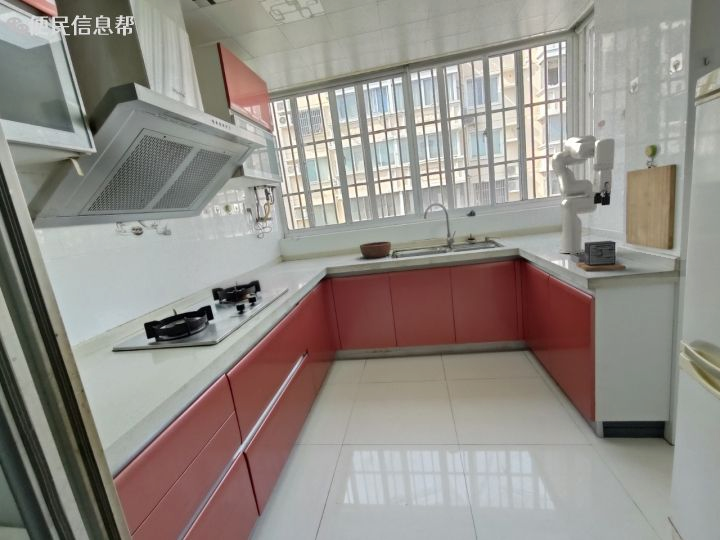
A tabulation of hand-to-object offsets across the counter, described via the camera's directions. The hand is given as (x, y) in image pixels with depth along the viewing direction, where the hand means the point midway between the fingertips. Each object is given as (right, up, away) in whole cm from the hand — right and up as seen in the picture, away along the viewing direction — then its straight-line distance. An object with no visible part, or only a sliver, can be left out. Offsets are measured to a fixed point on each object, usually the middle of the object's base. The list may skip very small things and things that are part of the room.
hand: (601, 204), depth 157 cm
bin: (+2, -27, +10) cm, 29 cm away
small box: (-4, -29, -4) cm, 29 cm away
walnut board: (-4, -30, -4) cm, 31 cm away
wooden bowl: (-102, -21, +108) cm, 150 cm away
